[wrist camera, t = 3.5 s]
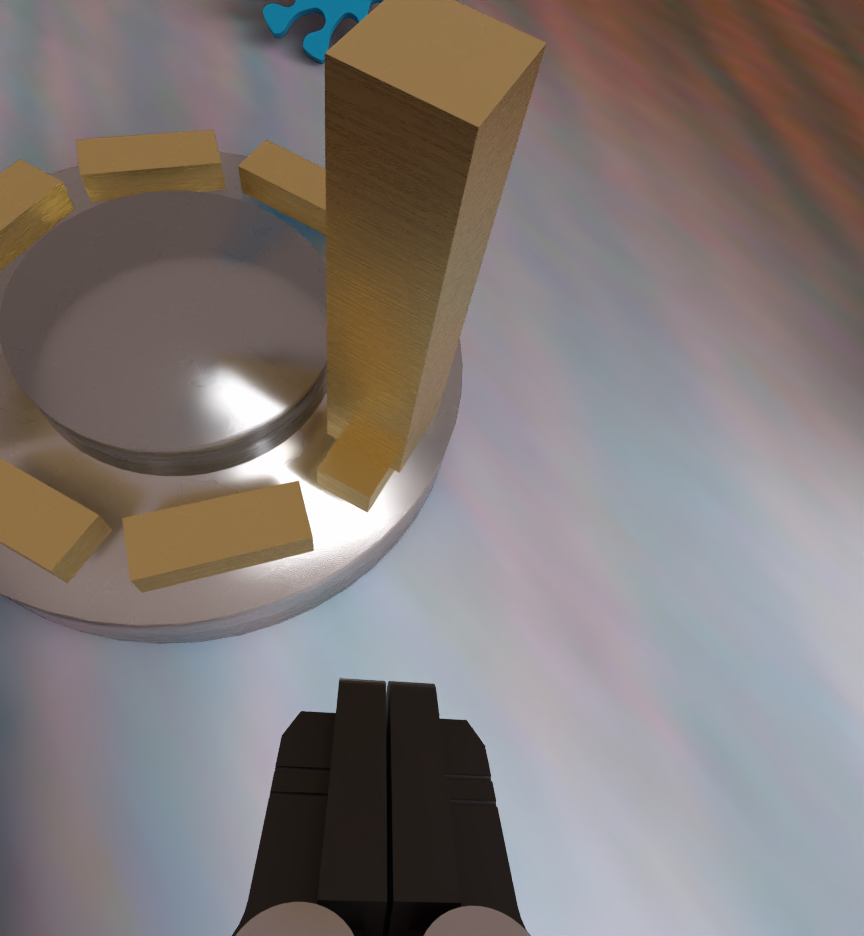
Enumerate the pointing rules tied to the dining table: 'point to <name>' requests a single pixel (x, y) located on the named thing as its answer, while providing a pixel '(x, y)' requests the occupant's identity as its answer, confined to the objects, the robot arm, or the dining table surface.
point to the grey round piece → (184, 403)
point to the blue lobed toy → (331, 3)
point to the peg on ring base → (347, 270)
